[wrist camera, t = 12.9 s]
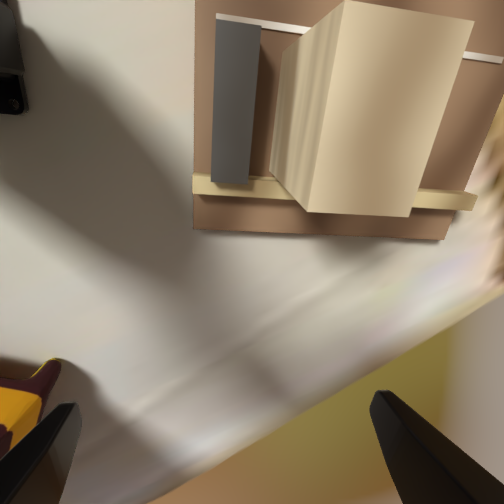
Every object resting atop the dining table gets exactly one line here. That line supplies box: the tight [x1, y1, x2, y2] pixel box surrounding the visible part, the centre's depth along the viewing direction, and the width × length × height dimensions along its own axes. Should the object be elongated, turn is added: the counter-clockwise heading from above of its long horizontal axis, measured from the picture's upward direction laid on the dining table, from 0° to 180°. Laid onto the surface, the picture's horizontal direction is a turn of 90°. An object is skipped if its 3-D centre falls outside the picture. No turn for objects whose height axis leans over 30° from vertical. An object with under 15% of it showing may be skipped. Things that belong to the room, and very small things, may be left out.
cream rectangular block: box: [269, 0, 475, 217], centre depth 13 cm, size 4×7×8 cm, turn 175°
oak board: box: [192, 0, 504, 240], centre depth 17 cm, size 18×14×3 cm
